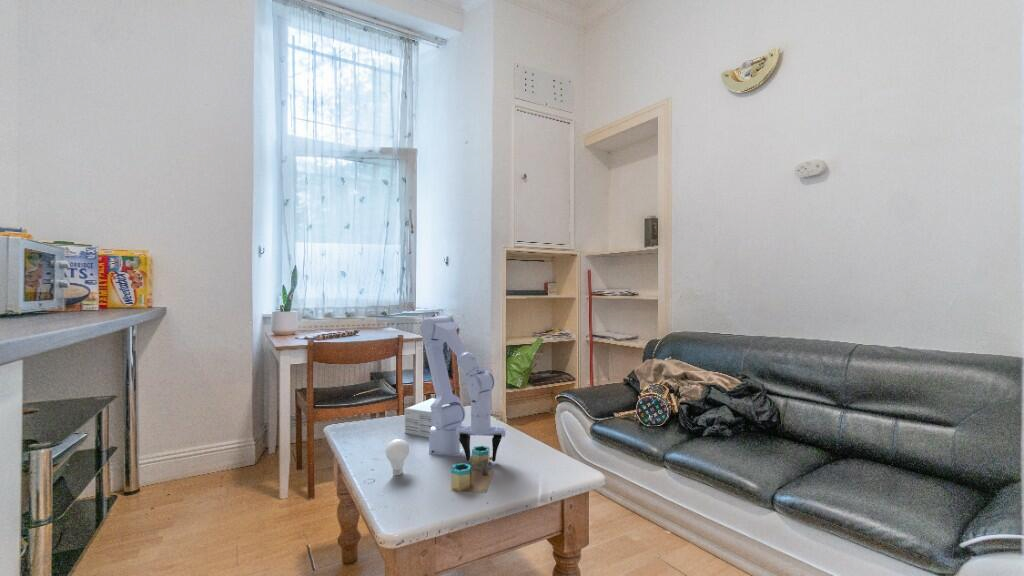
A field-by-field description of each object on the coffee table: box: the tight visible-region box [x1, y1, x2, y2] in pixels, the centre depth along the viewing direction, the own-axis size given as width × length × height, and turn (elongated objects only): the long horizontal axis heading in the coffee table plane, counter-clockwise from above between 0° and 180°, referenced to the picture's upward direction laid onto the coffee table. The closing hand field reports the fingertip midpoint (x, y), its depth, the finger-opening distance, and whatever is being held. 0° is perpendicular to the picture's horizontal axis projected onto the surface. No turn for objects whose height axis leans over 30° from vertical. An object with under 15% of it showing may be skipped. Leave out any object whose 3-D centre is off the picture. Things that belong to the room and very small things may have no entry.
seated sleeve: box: [450, 462, 473, 492], centre depth 114 cm, size 5×6×5 cm
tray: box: [470, 456, 492, 470], centre depth 129 cm, size 7×8×2 cm
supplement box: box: [404, 397, 450, 438], centre depth 164 cm, size 17×13×9 cm
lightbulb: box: [385, 438, 410, 477], centre depth 122 cm, size 6×6×11 cm
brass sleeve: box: [471, 445, 491, 466], centre depth 129 cm, size 5×6×5 cm
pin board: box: [451, 459, 494, 494], centre depth 117 cm, size 9×13×6 cm
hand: (481, 459), depth 129 cm, fingers open, 7 cm apart
